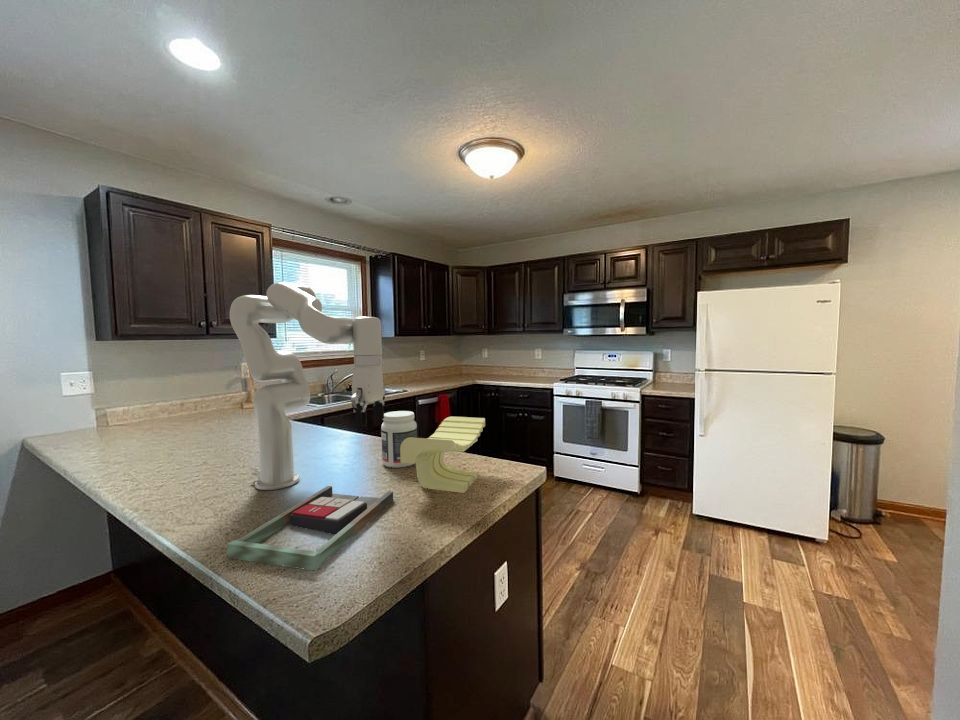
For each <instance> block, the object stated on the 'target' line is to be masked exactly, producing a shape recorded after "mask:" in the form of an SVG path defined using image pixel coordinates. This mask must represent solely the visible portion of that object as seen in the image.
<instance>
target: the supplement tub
mask: <svg viewBox="0 0 960 720" xmlns="http://www.w3.org/2000/svg"><path fill="white" fill-rule="evenodd" d="M415 418H416V417H415V413H414V412H413V411H411V410H397V411H387V412H384V419H382V421H383V422H382V424H381V427H380V429H381V430H380V434H381V459H382V464H383V465H384V466H385V467H388V468H391V467H392V468H393V469H400V468H401V467H402V468H406V467H407V466H408V467H411V466H413V465H414V464H410V463H401V462H400V446H401V443H402V442H403V441H404V440H405V439H406V438H409V437H413V438H418V423H417V422H416V421H415ZM392 468H391V469H392ZM402 468H401V469H402Z"/></svg>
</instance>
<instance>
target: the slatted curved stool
mask: <svg viewBox="0 0 960 720" xmlns="http://www.w3.org/2000/svg"><path fill="white" fill-rule="evenodd" d="M485 427H486V418H485V417H471V416H470V417H468V416H448V417H445V418H444V419H443V420H442V421H441V422H440V424H439V425H438V427H437V428H436V430H435V431H434V433H432V434H431V435H430V436H429V437H427V438H425V437H417V438H413V437H409V438H406V439H405V440H404V441H403V442H402V443H401V446H400V462H401V463H410V464H413V465H415V469H416V477H417V478H416V479H417V480H418V483H419V484H420V486H421V487H422V488H423V489H427V488H428V489H429V490H436V491H445V492H454V493H460V494H461V493H463V494H464V493H466V491H467V490H468V489H469V488H470V487H471V486H472V485H473V484H474V482H476V481H477V479H478V478H479V476H478V472H474V471H473V472H472V471H466V470H461V469H460V470H459V469H456V468H452V467H450V466H448V465H447V464H446V463H445V461H444V454H445V452H449V453H450V452H454V453H458V452H459V453H465V451H467V450H468V449H469V448H470V447H472V446H473V444H475V443H476V442H478V438H479V437H480V436H481V433H482V432H483V428H485ZM472 483H473V484H472ZM471 484H472V485H471ZM428 489H427V490H428Z"/></svg>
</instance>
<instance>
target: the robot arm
mask: <svg viewBox="0 0 960 720" xmlns="http://www.w3.org/2000/svg"><path fill="white" fill-rule="evenodd" d="M322 311H323V305H322V302H321V301H320V299H318V298H317V296H316V293H315V291H314V290H313V289H312V288H311V287H310V286H308V285H305V284H298V283H293V282H286V281H281V282H280V281H278V282H275V283H273V284H271V285H270V286H269V287H268V288H267V290H266V295H258V294H257V295H256V294H245V295H241V296H238V297H236V298H235V299H234V300H233V301H232V303H231V305H230V308H229V321H230V324H231V327H232V329H233V331H234V333H235V334H236V336H237V339H238V340H239V343H240V345H241V350H242V352H243V353H242V354H243V356H244V358H245V359H244V360H245V362H246V366H247V369H248V371H249V375H250V376H251V378H252V379H253V380H254V381H255V382H260V383H263V382H264V383H265V382H275V381H281V382H280V383H279V382H277V383H272V384H266V385H263V386H261V387H260V388H258V389H257V390H256V391H255V392H254V393H253V396H252V405H253V409H254V412H255V416H256V423H257V435H258V436H257V437H258V454H259V455H258V456H259V459H258V460H259V467H256V468H255V469H254V470H253V471H252V472H251V476H253V477H257V480H256V481H255V482H254V488H255V489H257V490H260V491H262V490H263V491H274V490H280V489H284V488H288V487H291V486H293V485H295V484H296V483H298V482H299V481H300V475H299V474H298V473H296V472H295V467H294V445H293V440H294V439H293V427H292V423H291V421H290V420H289V418H288V416H287V415H286V413H289V412H293V411H298V410H302V409H304V408H306V407H307V406H308V405H309V404H310V400H311V392H310V387H309V383H308V381H307V377H306V374H305V371H304V368H303V365H302V362H301V360H300V358H299V357H298V356H297V355H296V354H295V353H293V352H291V351H287V350H284V351H282V350H278V351H276V349H275V347H274V345H273V342H272V338H271V337H270V335H269V334H268V332H267V331H266V330H265V328H263V327H262V326H261V325H260V324H259V323H263V324H264V323H265V324H285V323H288V322H290V321H292V320H296V321H298V324H299V326H300V328H301V330H302V331H303V333H305V334H307V335H308V336H309V337H311V338H313V339H315V340H317V341H318V342H321V343H323V344H327V345H349V344H350V345H351V344H352V345H353V370H352V380H351V397H350V402H351V406H352V409H353V413H354V420H355V421H354V424H355V425H354V426H355V427H356V428H367V427H368V412H367V411H366V409H367V407H368V405H370V404H372V403H373V405H372V417H373V420H382V421H383V419H384V414H385V411H384V410H385V399H386V395H385V394H386V388H384V378H383V369H382V368H383V345H382V344H383V342H382V340H383V339H382V322H381V320H380V318H379V317H375V316H357V317H344V316H333V315H332V316H330V315H327V314H326V313H323V312H322Z"/></svg>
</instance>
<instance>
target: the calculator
mask: <svg viewBox="0 0 960 720" xmlns="http://www.w3.org/2000/svg"><path fill="white" fill-rule="evenodd" d="M366 509H367V503H365V502H361V501H356V500H354V501H351V500H349V499H339V498H337V499H335V498H329V497H320V498H319V499H317V500H315V501H313V502H311V503H309V505H305V506H303V507H301V508H300V509H298V510H296V511H294V512H293V514H291V515H290V526H291V525H292V526H291V527H295V526H298V527H297V528H300V527H301V528H302V529H305V528H307V529H306V530H310V529H311V530H312V531H318V532H323V533H324V532H325V534H329V533H330V534H329V535H333V536H335V535H336V534H337V533H338V532H339V531H341V530H342V529H343V528H344V527H346V526H347V525H348V524H349V523H350V522H352V521H353V520H354V519H355V518H356V517H358V516H359V515H360V514H361V513H363V512H364V511H365V510H366ZM301 528H300V529H301Z"/></svg>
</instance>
